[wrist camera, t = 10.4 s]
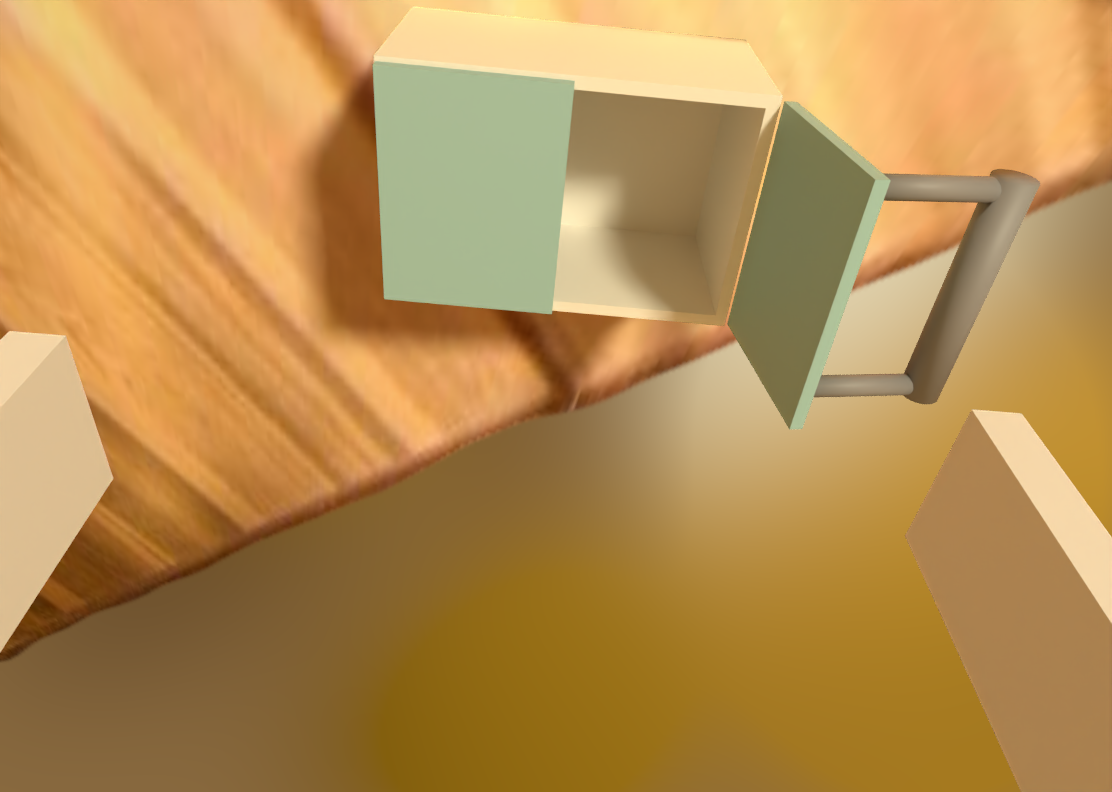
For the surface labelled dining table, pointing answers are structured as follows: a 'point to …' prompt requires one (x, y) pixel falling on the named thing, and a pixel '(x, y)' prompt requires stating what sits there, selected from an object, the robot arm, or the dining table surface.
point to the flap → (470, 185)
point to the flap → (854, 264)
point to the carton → (631, 151)
